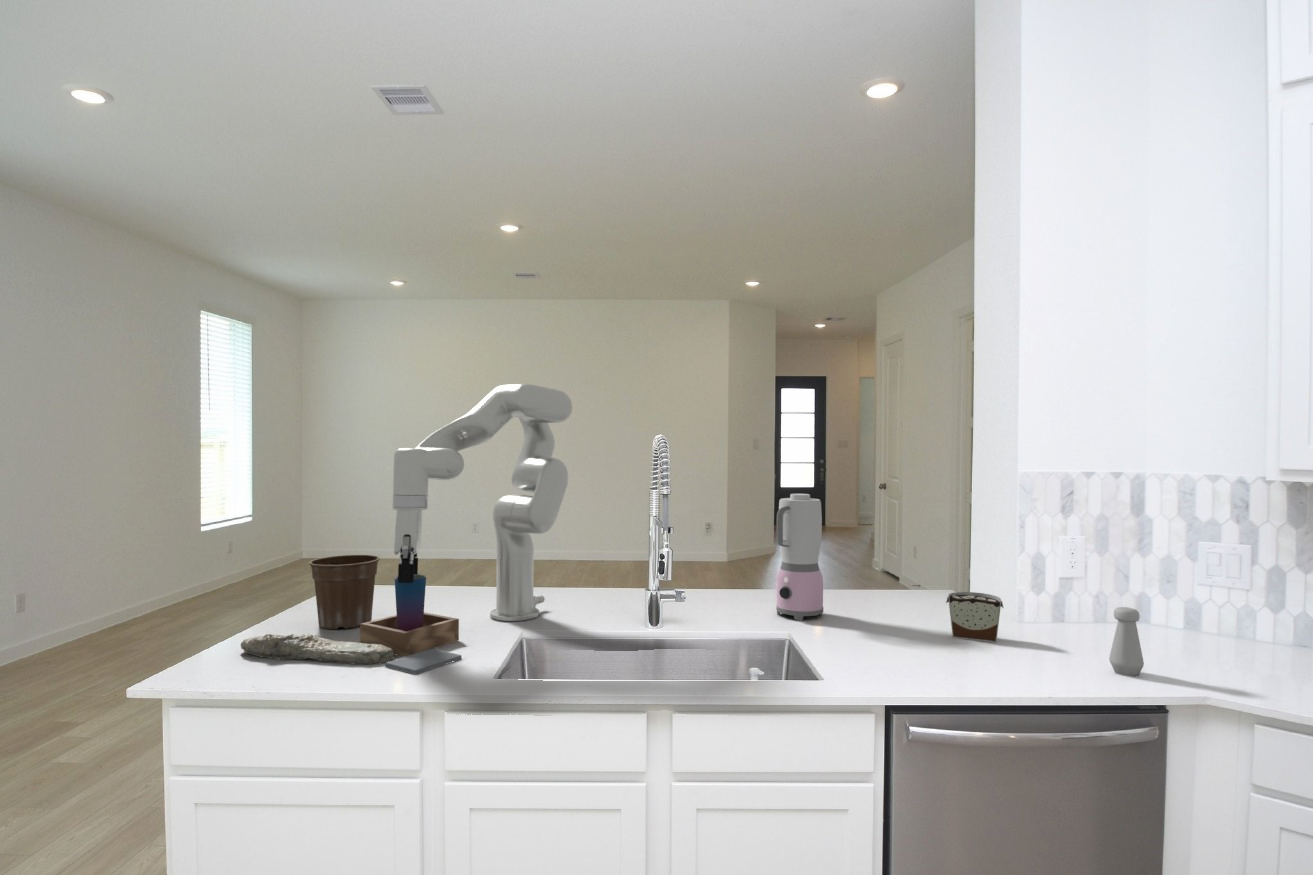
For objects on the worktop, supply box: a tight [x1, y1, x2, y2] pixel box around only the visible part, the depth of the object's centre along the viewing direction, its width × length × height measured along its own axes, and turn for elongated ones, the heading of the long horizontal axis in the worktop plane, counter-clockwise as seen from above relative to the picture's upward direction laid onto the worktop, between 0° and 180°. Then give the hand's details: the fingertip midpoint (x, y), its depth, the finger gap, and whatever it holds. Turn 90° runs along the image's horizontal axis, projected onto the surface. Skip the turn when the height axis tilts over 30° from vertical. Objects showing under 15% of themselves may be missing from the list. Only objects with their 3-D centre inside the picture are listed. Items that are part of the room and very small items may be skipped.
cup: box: [394, 573, 427, 631], centre depth 165 cm, size 7×7×15 cm
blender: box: [775, 493, 824, 621], centre depth 192 cm, size 16×12×32 cm
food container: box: [945, 591, 1005, 643], centre depth 173 cm, size 12×6×10 cm, turn 65°
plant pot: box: [308, 554, 381, 630], centre depth 182 cm, size 16×16×16 cm
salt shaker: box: [1108, 606, 1145, 678], centre depth 146 cm, size 6×6×13 cm
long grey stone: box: [240, 633, 395, 665], centre depth 155 cm, size 35×5×10 cm
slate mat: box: [384, 648, 462, 675], centre depth 151 cm, size 12×9×1 cm
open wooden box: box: [359, 611, 460, 657], centre depth 165 cm, size 15×15×5 cm
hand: (408, 578), depth 165 cm, fingers open, 9 cm apart
